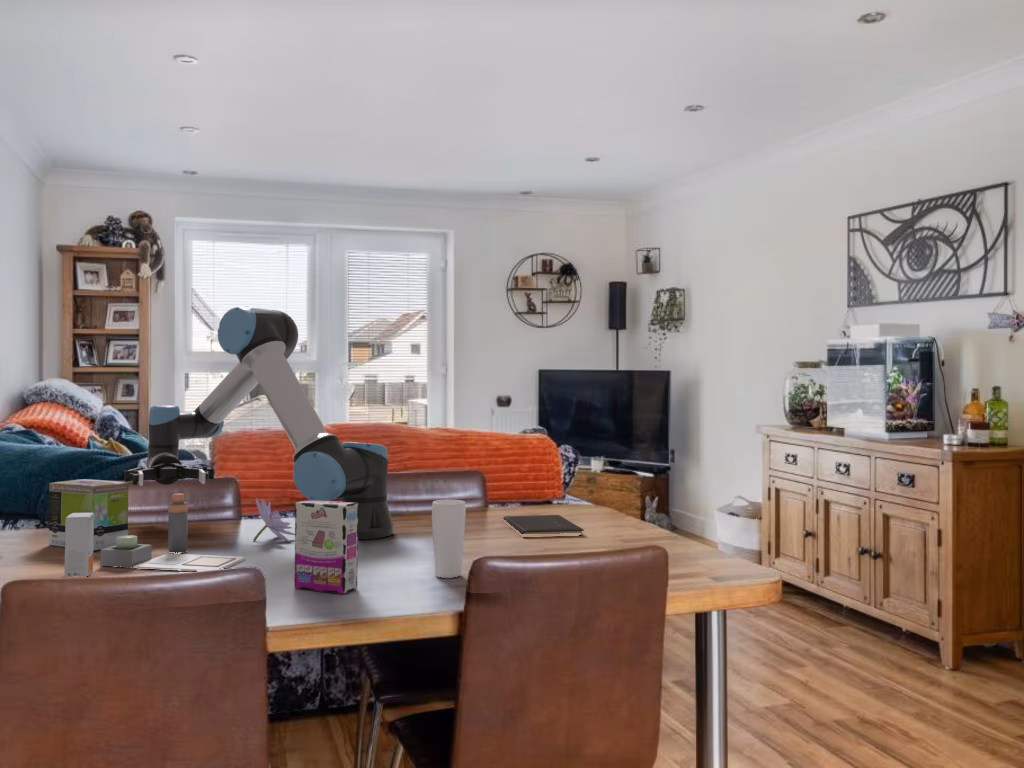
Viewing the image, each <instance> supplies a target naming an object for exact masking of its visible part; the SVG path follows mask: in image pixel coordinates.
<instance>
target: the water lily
mask: <svg viewBox="0 0 1024 768" xmlns="http://www.w3.org/2000/svg"><path fill="white" fill-rule="evenodd" d="M255 502H256V507H257V510H258V513H259V515H260V517H261V519H262V520H263V522H264V524H265V525H264V526H263V527H262V528H261V529H260V530H259V531H258V533H256V535H255V536H254V538H253V539H252V540H253V542H256V541H257V540H258V538H259V536H260V535H261V534H262V533H263V532H264V531H265V530H266V529H267V528H268V529H269V530H270V531H271V532H272V533H273V534H274V535H275V536H277V537H278V538H279V539H281V540H283V541H285V542H288V543H291V541H290V540H289V539H288V538H287V537H286V536H285V535H290V536H295V532H294V533H293V532H291V531H288V530H290V529H293V527H291V525H292V523H291V522H287V521H283V520H282V517H281V515H280V511H278V510H275V511H273V512H272V511H271V507H272V506H271V505H272V504H271V501H269V502H268V504H267V502H266V500H265V499H264V498H263V499H262V500H261V502H260V501H259V499H258V498H257V497H255ZM284 534H285V535H284ZM291 544H292V543H291Z"/></svg>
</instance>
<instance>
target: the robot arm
mask: <svg viewBox="0 0 1024 768" xmlns="http://www.w3.org/2000/svg"><path fill="white" fill-rule="evenodd" d="M218 325H219V326H218V329H217V341H218V343H219V346H220V348H221V349H222V350H223V351H224V352H225V353H227V354H229V355H235V356H236V358H237V359H238V361H239V362H238V363H237V364H236V365H235V366H234V367H233V368H232V369H231V370H230V372H229V373H227V375H226V376H225V377H224V378H223V379H221V381H220V382H219V383H218V384H217V386H216V387H215V388H214V389H213V390H212V391H211V392H210V393H209V394H208V396H207V397H206V398H205V399H204V400H203V401H202V402H201V403H200V404H199V405H198V406H197V407H196V408H195V409H194V410H193V411H181V410H180V407H179V406H178V405H172V404H171V405H169V404H168V405H167V404H164V405H162V404H157V405H152V406H151V407H150V408H149V413H148V420H147V423H148V447H147V458H146V467H145V466H142V465H139V466H138V467H135V468H131V469H128V470H127V469H126V470H123V471H124V472H123V473H124V478H123V479H124V480H123V482H128V483H129V482H132V485H134V486H136V485H137V486H138V487H143V486H144V481H147V480H151V481H155V482H156V483H157V484H159V485H165V486H169V485H173V484H175V483H177V482H178V481H179V480H186V479H193V480H198V481H199V482H200V484H202V485H206V481H207V480H215V468H211V467H208V466H206V465H205V466H198V465H195V464H193V465H190V467H187V465H186V464H182V462H181V461H180V459H179V445H180V440H181V441H182V440H190V439H209V438H214V437H217V436H219V435H220V434H221V433H222V431H223V428H224V425H225V424H224V420H225V419H226V418H227V417H228V416H229V415H230V414H231V412H233V411H234V410H235V408H236V407H238V406H239V404H241V402H242V401H244V399H245V398H246V397H247V396H248V395H249V394H250V393H251V392H252V391H253V390H254V389H255V388H256V387H257V385H259V386H260V388H261V390H262V392H263V393H264V395H265V397H266V399H267V401H268V403H269V404H270V406H271V408H272V410H273V412H274V414H275V415H276V417H277V419H278V422H279V423H280V424H281V427H282V428H283V430H284V432H285V433H286V436H287V437H288V439H289V441H290V443H291V445H292V446H293V449H294V453H293V456H292V460H293V462H294V464H293V468H292V470H293V471H292V472H293V474H292V478H293V482H294V485H295V487H296V489H297V490H298V492H299V493H301V495H303V496H304V497H305V498H306V499H308V500H320V501H333V500H337V499H340V501H339V502H351V503H358V540H372V539H373V540H374V539H376V540H377V539H382V537H383V538H387V537H386V536H388V537H391V536H392V535H391V534H393V533H394V532H395V531H394V529H395V528H394V522H393V519H392V515H391V512H390V510H389V506H388V463H389V458H388V449H387V447H386V446H385V445H383V444H379V443H370V442H355V441H343V442H341V441H340V439H339V438H338V436H337V435H336V434H333V433H329V432H328V431H327V428H326V427H325V426H324V424H323V422H322V420H321V418H320V416H319V415H318V413H317V412H316V410H315V408H314V406H313V404H312V402H311V400H310V399H309V397H308V395H307V394H306V391H305V390H304V388H303V386H302V384H301V383H300V381H299V380H298V377H297V376H296V373H295V371H294V370H293V368H292V366H291V365H290V363H289V361H288V359H289V358H290V356H292V354H293V352H294V351H295V350H296V347H297V343H298V341H299V330H298V327H297V324H296V322H295V321H294V319H293V318H292V317H291V316H290V315H289V314H287V313H286V312H284V311H281V310H277V309H266V308H259V307H257V308H256V307H251V306H235V307H231V308H230V309H228V310H227V311H226V312H225V313H224V314H223V315H222V317H221V319H220V321H219V324H218ZM390 535H391V536H390ZM393 535H394V534H393Z"/></svg>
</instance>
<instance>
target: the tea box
mask: <svg viewBox="0 0 1024 768" xmlns="http://www.w3.org/2000/svg"><path fill="white" fill-rule="evenodd" d="M48 485H49V489H48V492H49V493H48V546H54V547H62V548H65V521H66V517H68V515H70V514H72V513H94V535H93V552H94V551H101V550H102V549H105V548H108V547H111V546H114V545H116V538H117V537H119V536H128V535H129V481H128V482H125V481H119V480H118V481H117V480H107V479H106V480H103V479H102V480H101V479H91V478H89V479H88V478H87V479H86V478H84V479H83V478H82V479H74V480H73V479H72V480H63V481H55V482H50V483H48Z"/></svg>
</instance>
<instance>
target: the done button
mask: <svg viewBox="0 0 1024 768" xmlns="http://www.w3.org/2000/svg"><path fill="white" fill-rule="evenodd" d="M137 544H138V536H137V535H133V534H132V535H129V534H128V536H119V537H117V538H116V548H119V549H128V548H134V547H137Z"/></svg>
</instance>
